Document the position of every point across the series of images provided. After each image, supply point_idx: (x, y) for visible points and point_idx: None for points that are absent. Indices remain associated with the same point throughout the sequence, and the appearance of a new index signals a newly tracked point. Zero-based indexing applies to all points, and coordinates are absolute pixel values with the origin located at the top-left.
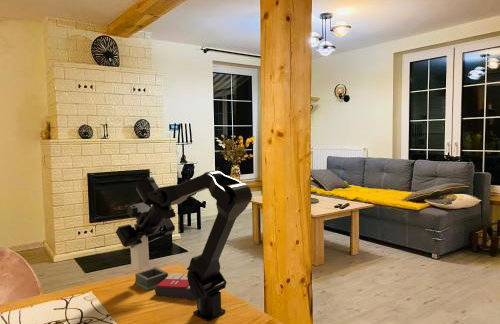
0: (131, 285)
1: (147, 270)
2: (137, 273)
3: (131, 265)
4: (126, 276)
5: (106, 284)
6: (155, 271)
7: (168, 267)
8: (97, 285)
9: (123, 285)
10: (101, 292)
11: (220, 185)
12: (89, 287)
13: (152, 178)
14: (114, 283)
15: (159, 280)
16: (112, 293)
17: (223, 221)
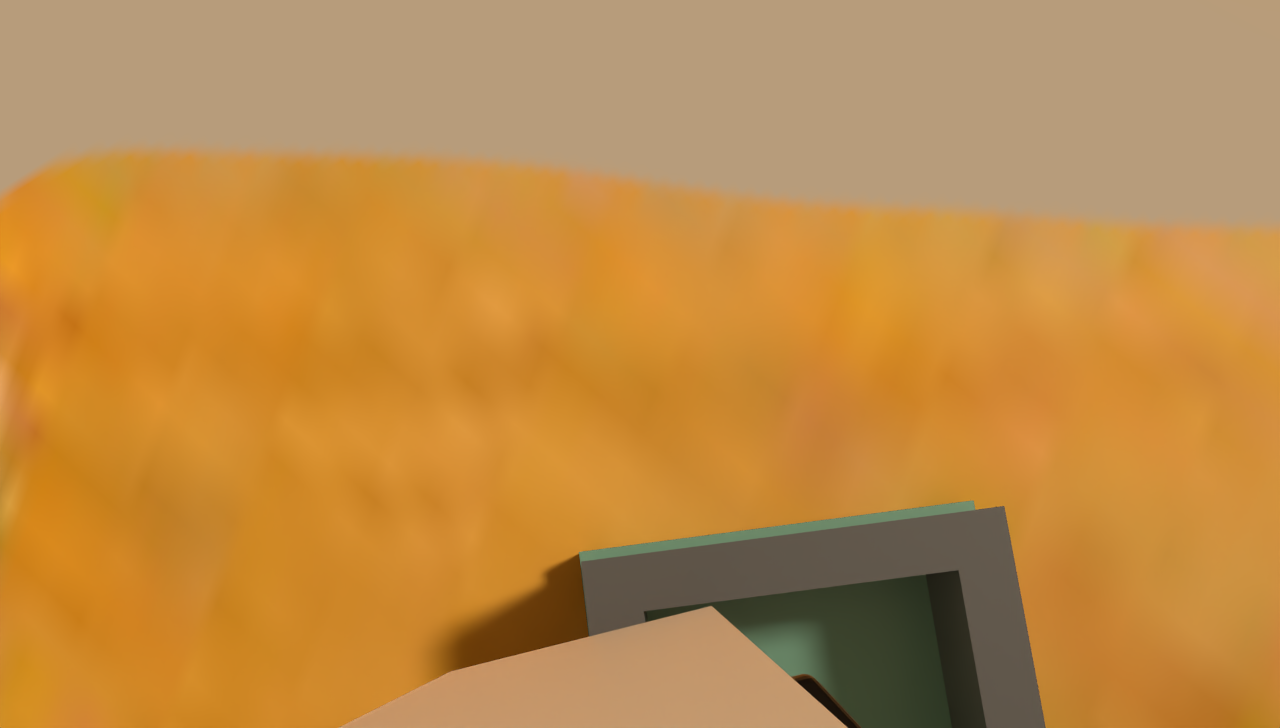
0: (510, 591)
1: (817, 560)
2: (616, 576)
3: (441, 676)
4: (580, 196)
5: (238, 298)
6: (951, 596)
7: (1271, 277)
8: (127, 247)
9: (416, 507)
10: (76, 539)
11: None
12: (17, 243)
13: None
14: (341, 340)
15: None
16: (181, 689)
17: None
